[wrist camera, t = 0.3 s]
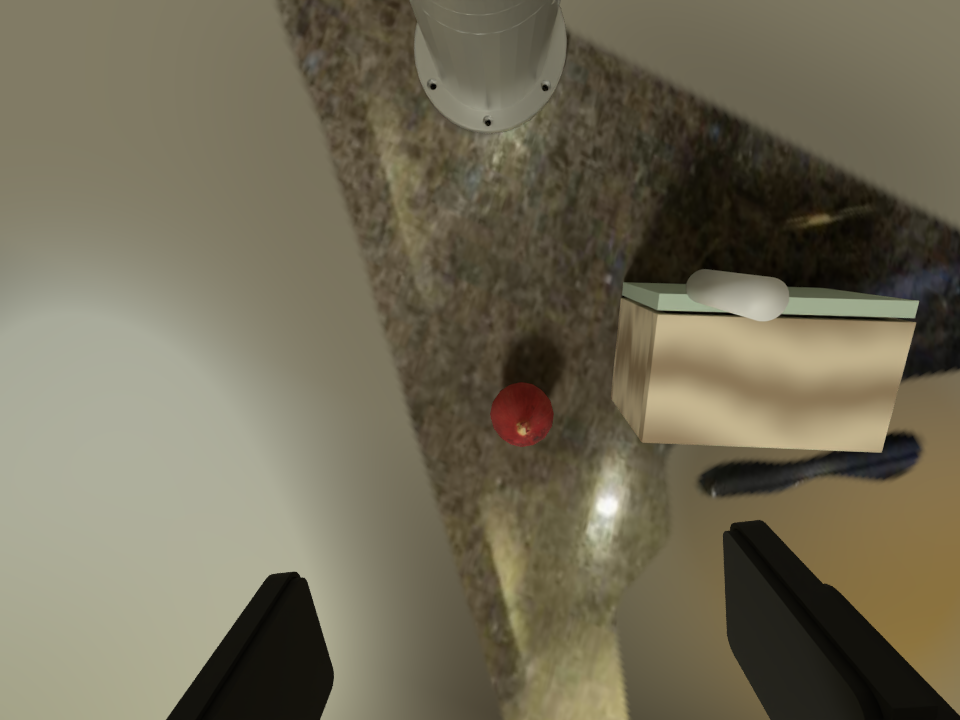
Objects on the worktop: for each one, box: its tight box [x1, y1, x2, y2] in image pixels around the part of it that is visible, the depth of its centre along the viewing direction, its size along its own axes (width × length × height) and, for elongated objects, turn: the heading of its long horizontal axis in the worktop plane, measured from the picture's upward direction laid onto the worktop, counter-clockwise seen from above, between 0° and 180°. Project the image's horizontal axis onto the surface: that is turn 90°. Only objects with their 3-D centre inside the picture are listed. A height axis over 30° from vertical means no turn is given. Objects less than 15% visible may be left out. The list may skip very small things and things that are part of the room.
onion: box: [490, 382, 554, 447], centre depth 42 cm, size 6×6×8 cm
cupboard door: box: [622, 269, 919, 321], centre depth 33 cm, size 3×18×18 cm, turn 88°
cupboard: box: [611, 298, 916, 453], centre depth 39 cm, size 10×18×10 cm, turn 89°
